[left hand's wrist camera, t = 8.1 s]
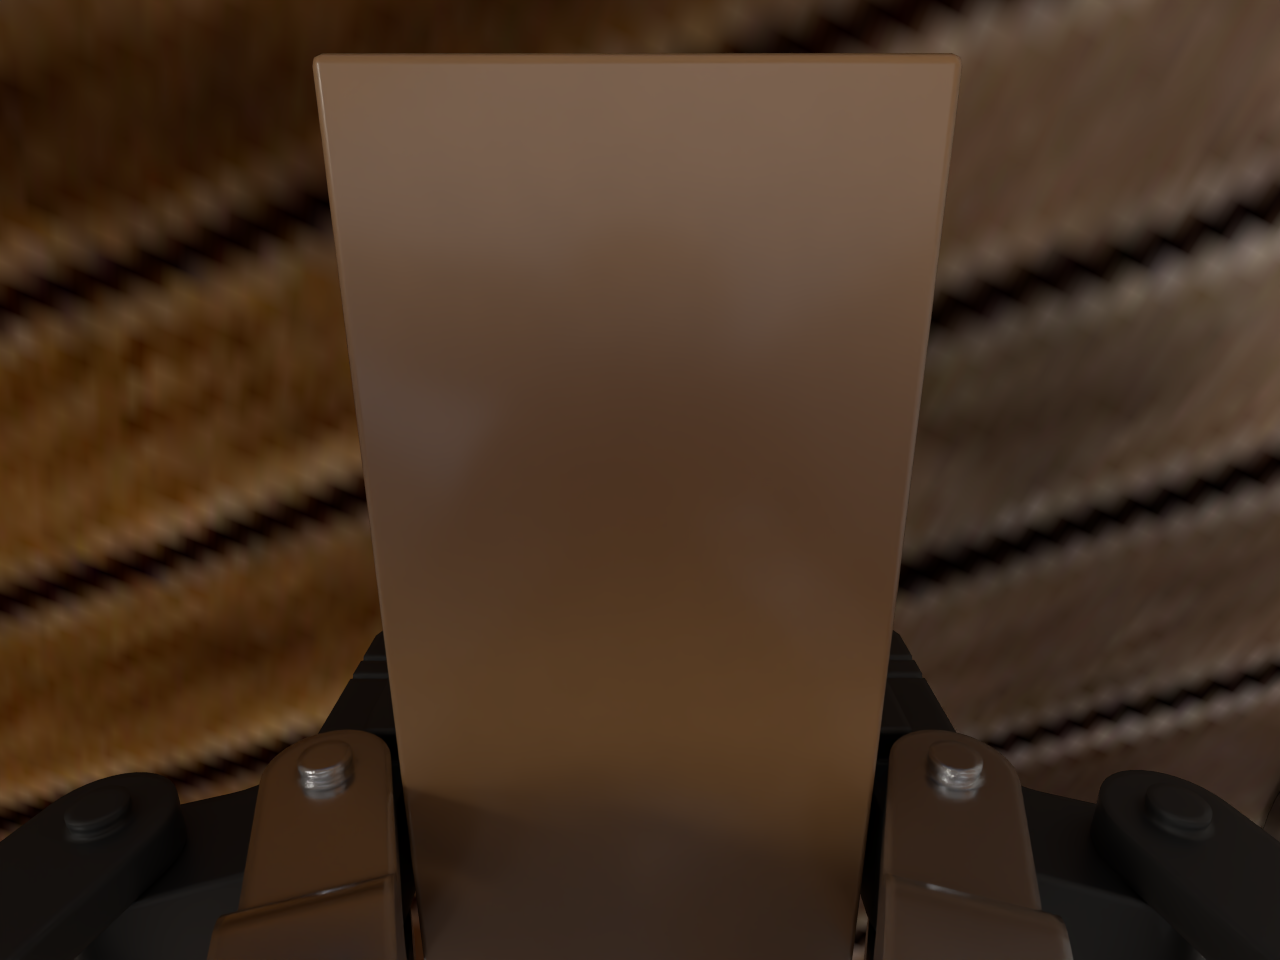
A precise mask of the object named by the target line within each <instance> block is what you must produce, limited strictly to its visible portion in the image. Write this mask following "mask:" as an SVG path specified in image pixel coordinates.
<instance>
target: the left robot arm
mask: <svg viewBox="0 0 1280 960" xmlns="http://www.w3.org/2000/svg"><path fill="white" fill-rule="evenodd" d="M414 894H415V882H414V874H413V866H412V858H411V850H410V842H409V834H408V826H407V818H406V810H405V802H404V794H403V786H402V778H401V770H400V762H399V754H398V746H397V738H396V730H395V722H394V714H393V706H392V698H391V690H390V682H389V674H388V666H387V658H386V650H385V642H384V634H383V631H382V632H380V633H379V634H378V635H376V637H375V638H374V640H373V642H372V643H371V645H370V647H369V649H368V650H367V652H366V654H365V655H364V660H363V661H361V662H360V664H359V665H358V667H357V669H356V671H355V672H354V674H353V679H350V681H349V682H348V684H347V686H346V687H345V689H344V691H343V693H342V694H341V696H340V698H339V699H338V701H337V703H336V704H335V706H334V708H333V709H332V711H331V713H330V715H329V716H328V718H327V720H326V721H325V723H324V725H323V726H322V728H321V730H320V731H319V733H318V734H317V735H314V736H311V737H308V738H306V739H303V740H301V741H299V742H297V743H295V744H293V745H291V746H290V747H288V748H286V749H285V750H284V751H282V752H281V753H279V754H278V755H277V756H276V757H275V758H274V759H273V760H272V761H271V762H270V763H269V765H268V766H267V767H266V769H265V770H264V772H263V774H262V776H261V780H260V784H259V785H257V786H254V787H251V788H249V789H246V790H242V791H239V792H235V793H231V794H226V795H222V796H217V797H213V798H208V799H204V800H199V801H195V802H190V803H186V804H181V805H180V801H179V797H178V793H177V790H176V787H175V785H174V784H173V783H172V782H171V780H169V779H167V778H166V777H164V776H161V775H158V774H154V773H147V772H135V773H125V774H120V775H115V776H110V777H107V778H103V779H100V780H97V781H94V782H92V783H89V784H86V785H84V786H82V787H80V788H78V789H76V790H73V791H72V792H70V793H68V794H66V795H65V796H63V797H61V798H60V799H58V800H57V801H55V802H54V803H52V804H51V805H49V806H48V807H47V808H45V809H44V810H43V811H41V812H40V813H38V814H37V815H36V816H34V817H33V818H32V819H30V820H29V821H28V822H26V823H25V824H24V825H22V826H21V827H20V828H18V829H17V830H16V831H14V832H13V833H12V834H10V835H9V836H8V837H6V838H5V839H4V840H2V841H1V842H0V960H416V954H415V940H414V930H413V923H412V915H411V907H410V906H411V903H412V900H413V897H414ZM860 894H861V897H862V900H863V904H864V907H865V910H866V913H867V916H868V923H867V931H866V941H865V955H864V960H1280V842H1279V841H1278V840H1276V839H1275V838H1274V837H1272V836H1271V835H1270V834H1268V833H1267V832H1266V831H1264V830H1263V829H1262V828H1260V827H1259V826H1258V825H1256V824H1255V823H1254V822H1252V821H1251V820H1250V819H1248V818H1247V817H1246V816H1244V815H1243V814H1241V813H1240V812H1239V811H1237V810H1236V809H1235V808H1233V807H1232V806H1231V805H1229V804H1228V803H1227V802H1225V801H1224V800H1222V799H1221V798H1219V797H1218V796H1216V795H1215V794H1213V793H1211V792H1209V791H1208V790H1206V789H1204V788H1202V787H1200V786H1198V785H1196V784H1193V783H1191V782H1189V781H1186V780H1183V779H1181V778H1178V777H1175V776H1171V775H1168V774H1164V773H1159V772H1154V771H1145V770H1128V771H1121V772H1118V773H1115V774H1113V775H1111V776H1109V777H1108V778H1106V779H1105V781H1104V782H1103V783H1102V785H1101V788H1100V791H1099V795H1098V799H1097V803H1096V804H1093V803H1089V802H1084V801H1080V800H1075V799H1071V798H1066V797H1062V796H1057V795H1053V794H1048V793H1044V792H1040V791H1036V790H1032V789H1029V788H1026V787H1023V786H1021V783H1020V779H1019V776H1018V774H1017V772H1016V770H1015V768H1014V767H1013V766H1012V765H1011V763H1010V762H1009V761H1008V760H1007V759H1006V758H1005V757H1004V756H1003V755H1002V754H1001V753H999V752H998V751H996V750H995V749H994V748H992V747H990V746H989V745H987V744H985V743H983V742H981V741H979V740H977V739H975V738H972V737H969V736H966V735H963V734H960V733H956V731H955V730H954V728H953V726H952V724H951V723H950V721H949V719H948V717H947V716H946V714H945V712H944V711H943V709H942V707H941V705H940V704H939V702H938V700H937V699H936V697H935V695H934V693H933V692H932V690H931V688H930V686H929V685H928V683H927V681H926V680H925V678H922V673H921V671H920V669H919V668H918V666H917V664H916V662H915V661H914V660H912V655H911V654H910V652H909V650H908V649H907V647H906V645H905V643H904V642H903V640H902V638H901V637H900V635H899V634H898V633H896V632H895V631H894V630H893V631H892V639H891V647H890V656H889V664H888V672H887V680H886V688H885V696H884V704H883V712H882V720H881V729H880V737H879V745H878V753H877V761H876V769H875V777H874V785H873V793H872V802H871V810H870V818H869V826H868V834H867V842H866V850H865V858H864V867H863V875H862V883H861V891H860Z"/></svg>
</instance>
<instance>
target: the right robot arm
mask: <svg viewBox="0 0 1280 960" xmlns="http://www.w3.org/2000/svg"><path fill="white" fill-rule="evenodd" d="M1263 830H1264V831H1266V832H1267V833H1268V834H1270V835H1271V836H1272V837H1274V838H1275V839H1276V840H1278V841H1279V842H1280V793H1279V795H1278V796H1277V798H1276V800H1275V802H1274V804H1273V806H1272V808H1271V810H1270V812H1269V814H1268V817H1267V820H1266V823H1265V826H1264V828H1263Z"/></svg>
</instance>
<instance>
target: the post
mask: <svg viewBox="0 0 1280 960" xmlns="http://www.w3.org/2000/svg"><path fill="white" fill-rule="evenodd" d="M961 71H962V63H961V58H960V57H958V56H956V55H954V54H952V53H323V54H320V55H318V56H316V57H315V58H314V61H313V74H314V82H315V90H316V98H317V106H318V114H319V122H320V130H321V138H322V146H323V154H324V162H325V170H326V178H327V186H328V194H329V202H330V210H331V218H332V226H333V234H334V242H335V250H336V258H337V266H338V274H339V282H340V290H341V298H342V306H343V314H344V322H345V330H346V338H347V346H348V354H349V362H350V370H351V378H352V386H353V394H354V402H355V410H356V418H357V426H358V434H359V442H360V450H361V458H362V466H363V474H364V482H365V490H366V498H367V506H368V514H369V522H370V530H371V538H372V546H373V554H374V562H375V570H376V578H377V586H378V594H379V602H380V610H381V618H382V626H383V634H384V642H385V650H386V658H387V666H388V674H389V682H390V690H391V698H392V706H393V714H394V722H395V730H396V738H397V746H398V754H399V762H400V770H401V778H402V786H403V794H404V802H405V810H406V818H407V826H408V834H409V842H410V850H411V858H412V866H413V874H414V882H415V890H416V898H417V906H418V914H419V922H420V930H421V938H422V946H423V954H424V960H852V956H853V948H854V940H855V931H856V923H857V915H858V907H859V899H860V891H861V883H862V875H863V867H864V858H865V850H866V842H867V834H868V826H869V818H870V810H871V802H872V793H873V785H874V777H875V769H876V761H877V753H878V745H879V737H880V729H881V720H882V712H883V704H884V696H885V688H886V680H887V672H888V664H889V656H890V647H891V639H892V631H893V623H894V615H895V607H896V599H897V591H898V582H899V574H900V566H901V558H902V550H903V542H904V534H905V526H906V518H907V509H908V501H909V493H910V485H911V477H912V469H913V461H914V453H915V445H916V436H917V428H918V420H919V412H920V404H921V396H922V388H923V380H924V371H925V363H926V355H927V347H928V339H929V331H930V323H931V315H932V307H933V298H934V290H935V282H936V274H937V266H938V258H939V250H940V242H941V233H942V225H943V217H944V209H945V201H946V193H947V185H948V177H949V169H950V160H951V152H952V144H953V136H954V128H955V120H956V112H957V104H958V96H959V87H960V79H961Z"/></svg>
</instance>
